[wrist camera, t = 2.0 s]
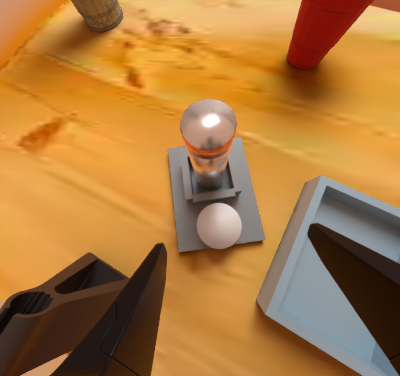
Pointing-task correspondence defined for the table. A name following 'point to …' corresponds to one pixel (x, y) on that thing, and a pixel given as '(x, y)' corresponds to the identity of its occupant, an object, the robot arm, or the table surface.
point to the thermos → (99, 13)
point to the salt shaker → (208, 139)
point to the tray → (320, 277)
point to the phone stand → (56, 314)
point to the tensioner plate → (203, 198)
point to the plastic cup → (321, 28)
